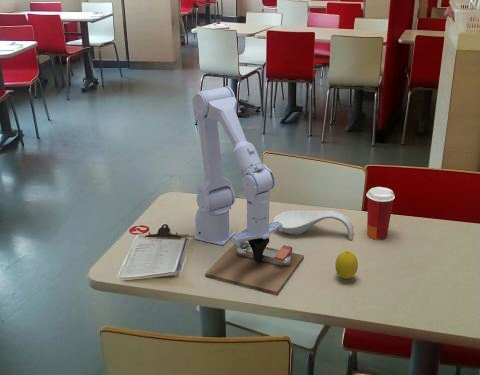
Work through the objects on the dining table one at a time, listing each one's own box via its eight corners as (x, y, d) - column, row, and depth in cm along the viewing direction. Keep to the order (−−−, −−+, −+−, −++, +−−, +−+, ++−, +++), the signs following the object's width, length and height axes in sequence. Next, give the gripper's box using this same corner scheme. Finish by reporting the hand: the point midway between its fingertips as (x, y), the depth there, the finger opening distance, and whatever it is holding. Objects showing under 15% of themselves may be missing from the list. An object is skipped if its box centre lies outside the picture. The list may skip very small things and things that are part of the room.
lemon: (356, 285, 136) (358, 257, 132) (334, 283, 137) (335, 255, 133) (356, 273, 141) (359, 246, 137) (335, 271, 142) (336, 244, 138)
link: (234, 254, 148) (234, 246, 147) (241, 248, 151) (240, 240, 150) (287, 268, 141) (287, 259, 140) (293, 260, 144) (293, 252, 143)
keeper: (274, 267, 142) (274, 256, 141) (283, 255, 148) (283, 245, 146) (282, 269, 141) (283, 258, 140) (292, 257, 147) (292, 247, 145)
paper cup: (391, 231, 161) (396, 188, 156) (389, 243, 155) (394, 198, 149) (364, 227, 164) (368, 184, 158) (361, 239, 157) (365, 195, 152)
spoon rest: (269, 237, 160) (269, 215, 157) (277, 219, 170) (277, 198, 167) (350, 246, 154) (352, 224, 151) (354, 228, 164) (356, 206, 161)
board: (205, 276, 140) (205, 273, 140) (237, 243, 156) (237, 240, 156) (277, 295, 132) (277, 291, 132) (303, 258, 148) (303, 255, 148)
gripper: (243, 228, 132) (243, 276, 137) (290, 213, 139) (288, 259, 145) (227, 217, 137) (228, 264, 143) (273, 203, 145) (272, 248, 150)
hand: (257, 260), depth 144 cm, fingers closed, pressing on link
